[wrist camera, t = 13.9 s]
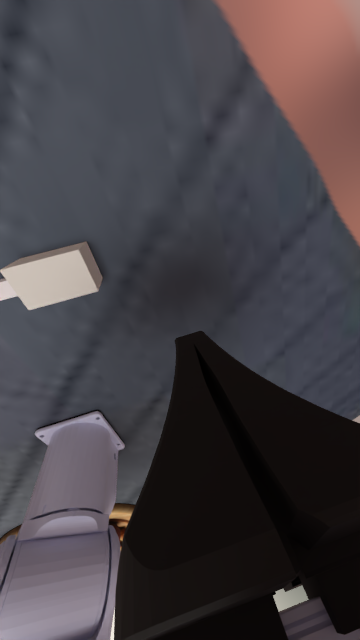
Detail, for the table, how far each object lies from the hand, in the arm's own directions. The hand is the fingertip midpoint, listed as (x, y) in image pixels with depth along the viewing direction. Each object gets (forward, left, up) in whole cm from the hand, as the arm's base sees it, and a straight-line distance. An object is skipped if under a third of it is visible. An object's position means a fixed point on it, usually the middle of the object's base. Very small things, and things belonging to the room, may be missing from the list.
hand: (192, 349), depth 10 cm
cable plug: (+3, +8, -10) cm, 13 cm away
